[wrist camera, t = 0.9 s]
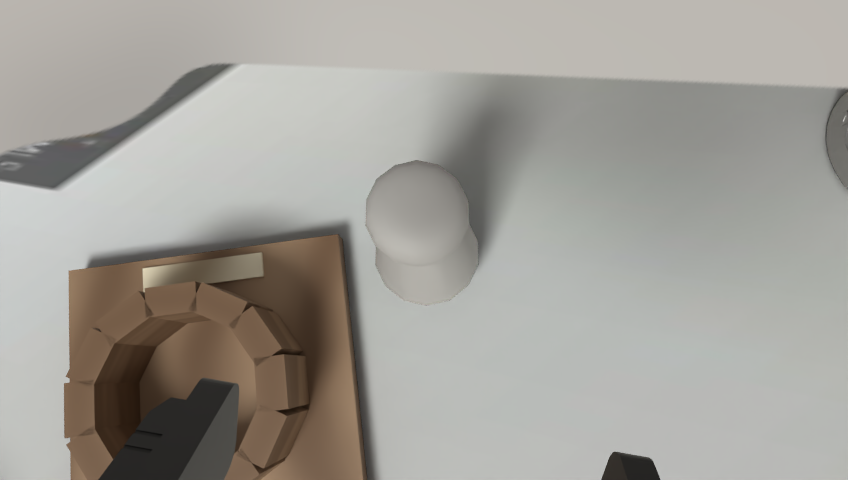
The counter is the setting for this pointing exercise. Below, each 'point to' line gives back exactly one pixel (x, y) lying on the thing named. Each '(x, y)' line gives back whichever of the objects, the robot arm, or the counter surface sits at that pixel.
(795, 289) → the counter surface
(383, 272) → the salt shaker
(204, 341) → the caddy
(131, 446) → the robot arm
